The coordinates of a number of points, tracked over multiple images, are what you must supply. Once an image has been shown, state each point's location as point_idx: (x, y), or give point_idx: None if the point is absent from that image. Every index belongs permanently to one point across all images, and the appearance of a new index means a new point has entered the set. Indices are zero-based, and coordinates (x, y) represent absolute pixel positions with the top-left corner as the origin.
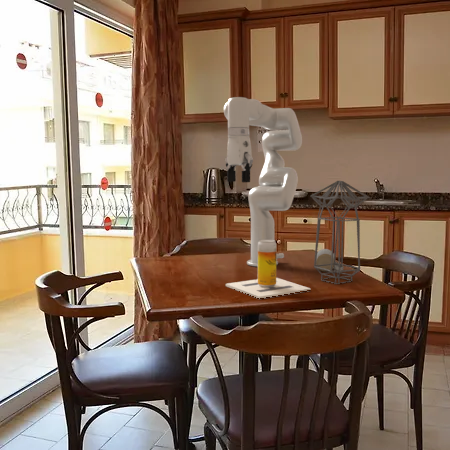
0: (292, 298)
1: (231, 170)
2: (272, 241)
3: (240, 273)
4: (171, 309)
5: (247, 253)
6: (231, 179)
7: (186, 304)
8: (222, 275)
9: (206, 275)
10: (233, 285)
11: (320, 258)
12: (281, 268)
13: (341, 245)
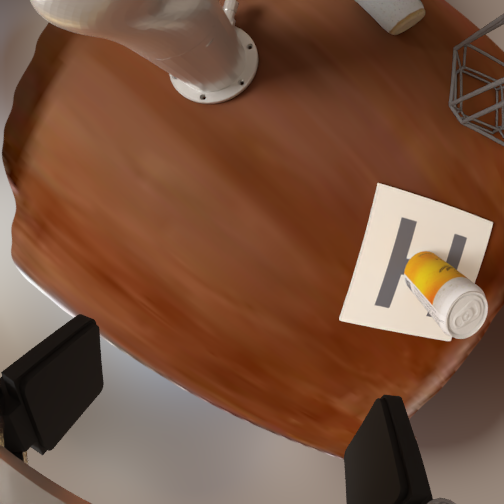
0: (488, 292)
1: (29, 427)
2: (480, 306)
3: (262, 193)
4: None
5: None
6: (93, 375)
7: None
8: (248, 245)
9: (220, 273)
10: (364, 319)
11: (405, 24)
12: (293, 63)
13: (490, 29)
